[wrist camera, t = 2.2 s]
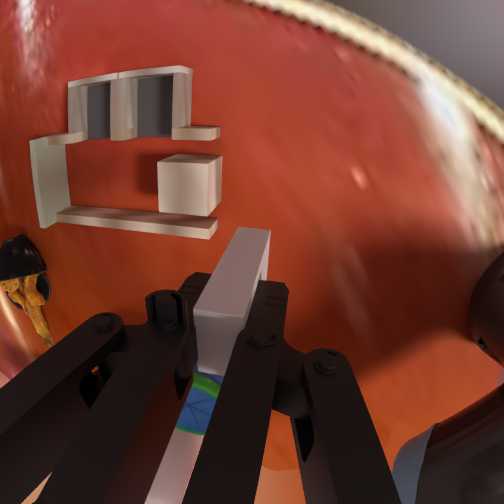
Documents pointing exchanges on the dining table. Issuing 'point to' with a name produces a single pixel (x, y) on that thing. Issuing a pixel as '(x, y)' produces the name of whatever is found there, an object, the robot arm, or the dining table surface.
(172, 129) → the box
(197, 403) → the snack cup
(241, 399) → the robot arm
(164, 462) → the bottle
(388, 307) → the dining table surface
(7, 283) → the fried shrimp in bowl
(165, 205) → the cream block
